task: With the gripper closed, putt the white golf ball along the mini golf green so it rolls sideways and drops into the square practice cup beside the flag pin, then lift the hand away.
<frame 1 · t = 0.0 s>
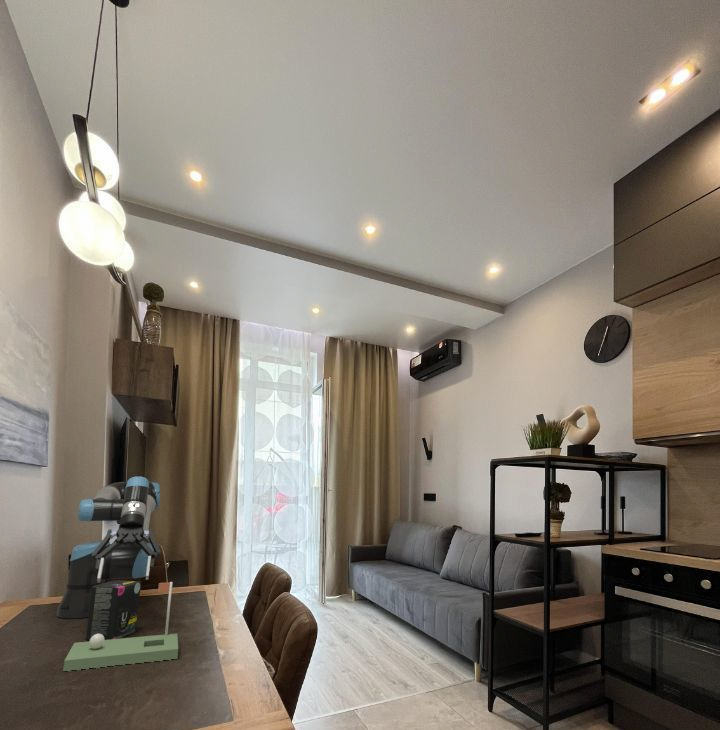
hand: (123, 579, 150), 15 cm above the table, tool tilted 35°, fingers open, 13 cm apart
mini golf green: (124, 656, 128), on the table
tampon box: (111, 636, 144), on the table
ball: (96, 641, 126), point 4 cm above the table, touching mini golf green
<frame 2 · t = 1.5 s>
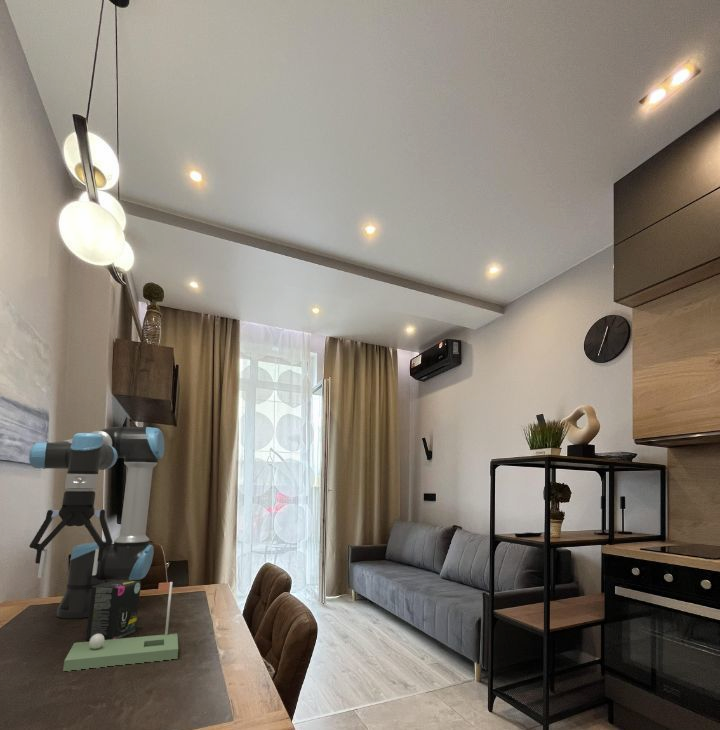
hand: (67, 575, 127), 21 cm above the table, tool pointing down, fingers open, 12 cm apart
nothing on the table moved.
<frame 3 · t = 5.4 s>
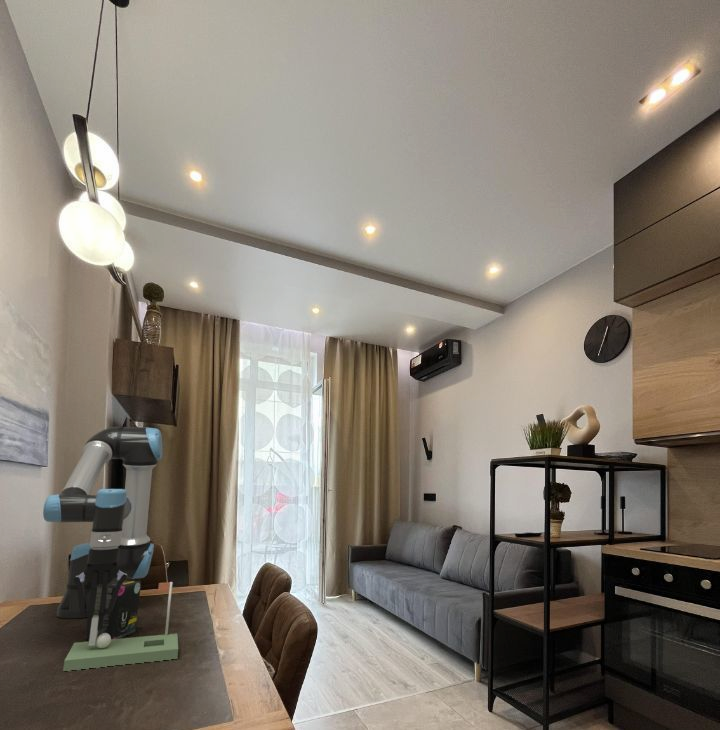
hand: (92, 643, 126), 4 cm above the table, tool pointing down, fingers closed
ball: (103, 640, 127), point 4 cm above the table, tilted 49°, touching mini golf green
everything else where it was.
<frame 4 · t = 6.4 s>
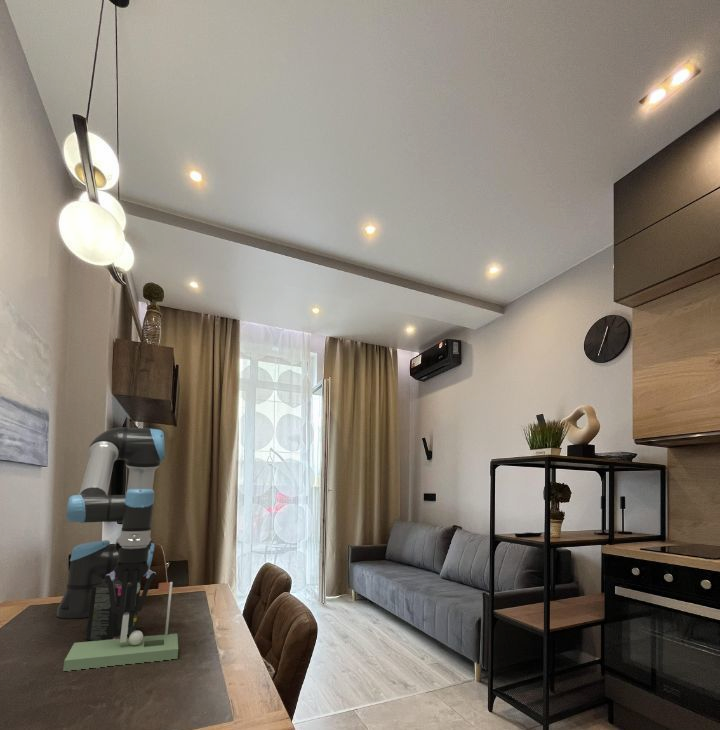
hand: (123, 640, 128), 4 cm above the table, tool pointing down, fingers closed
ball: (135, 637, 129), point 4 cm above the table, tilted 57°, touching mini golf green
everything else where it was.
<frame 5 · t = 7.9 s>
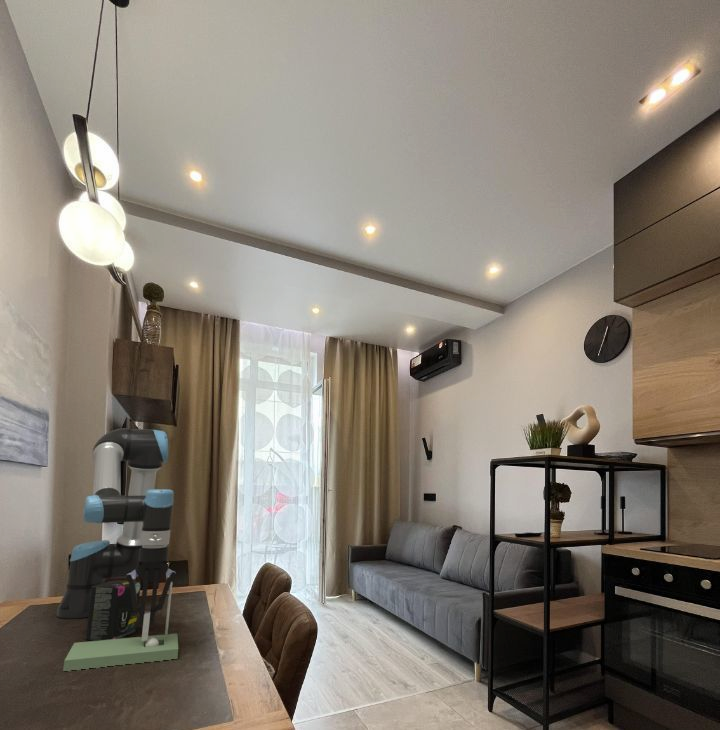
hand: (144, 639, 130), 4 cm above the table, tool pointing down, fingers closed
ball: (151, 645, 130), point 2 cm above the table, tilted 102°, touching mini golf green
everything else where it was.
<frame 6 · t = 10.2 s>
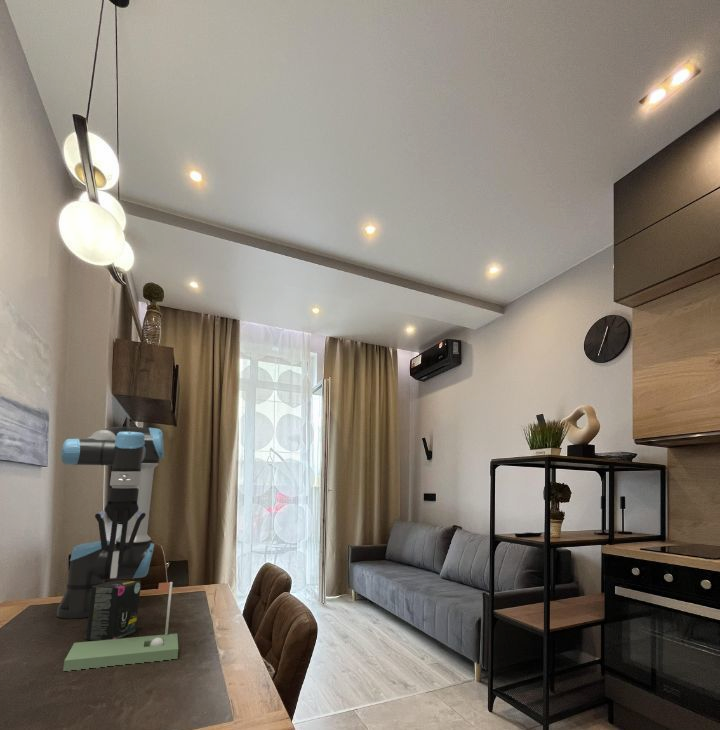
hand: (113, 577, 131), 20 cm above the table, tool pointing down, fingers closed
ball: (156, 644, 131), point 2 cm above the table, tilted 144°, touching mini golf green
everything else where it was.
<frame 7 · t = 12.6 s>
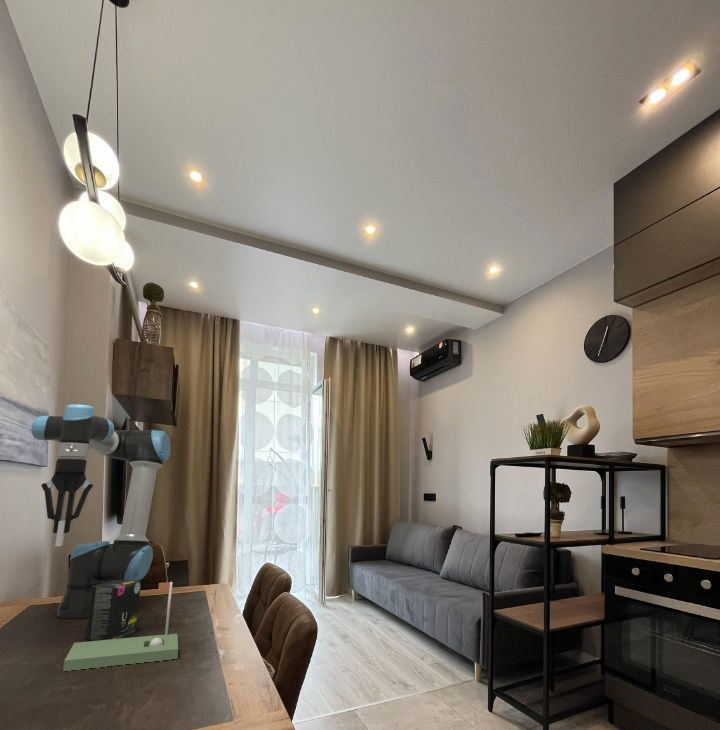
hand: (59, 545, 133), 27 cm above the table, tool pointing down, fingers closed
ball: (156, 645, 131), point 2 cm above the table, tilted 137°, touching mini golf green
everything else where it was.
at the end: ball 0.6 cm from the target spot on the mini golf green, point 2.0 cm above the mini golf green's base; ball moved 14.7 cm from its start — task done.
